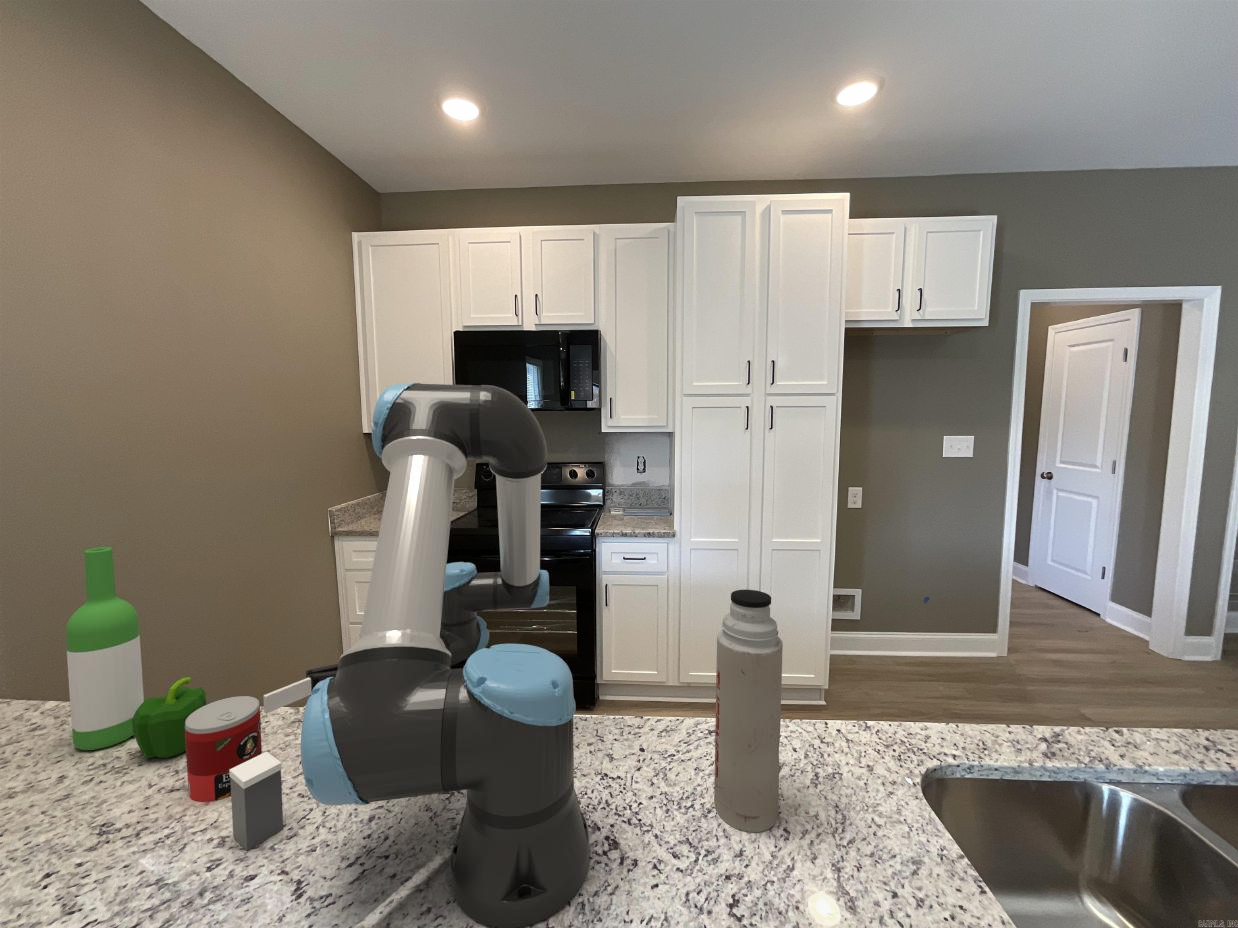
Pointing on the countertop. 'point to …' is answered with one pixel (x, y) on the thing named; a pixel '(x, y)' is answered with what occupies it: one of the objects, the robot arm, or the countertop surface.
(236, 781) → the toggle
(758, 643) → the thermos bottle
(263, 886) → the countertop surface
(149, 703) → the bell pepper
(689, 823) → the countertop surface
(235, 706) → the canned food
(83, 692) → the wine bottle
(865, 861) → the countertop surface
